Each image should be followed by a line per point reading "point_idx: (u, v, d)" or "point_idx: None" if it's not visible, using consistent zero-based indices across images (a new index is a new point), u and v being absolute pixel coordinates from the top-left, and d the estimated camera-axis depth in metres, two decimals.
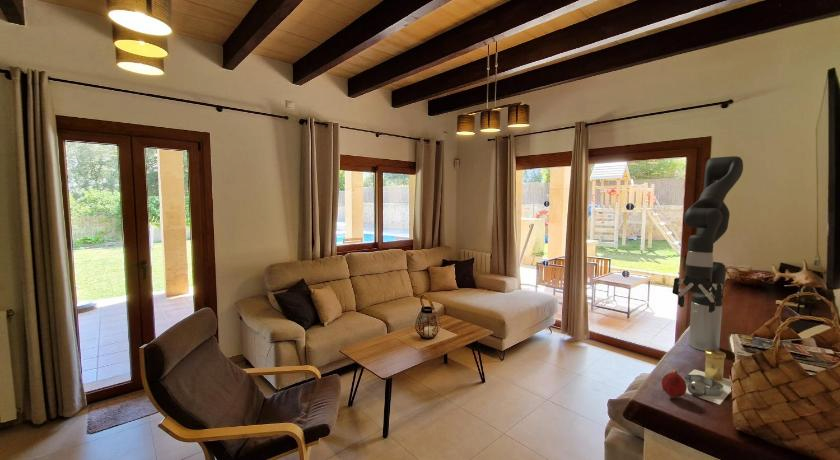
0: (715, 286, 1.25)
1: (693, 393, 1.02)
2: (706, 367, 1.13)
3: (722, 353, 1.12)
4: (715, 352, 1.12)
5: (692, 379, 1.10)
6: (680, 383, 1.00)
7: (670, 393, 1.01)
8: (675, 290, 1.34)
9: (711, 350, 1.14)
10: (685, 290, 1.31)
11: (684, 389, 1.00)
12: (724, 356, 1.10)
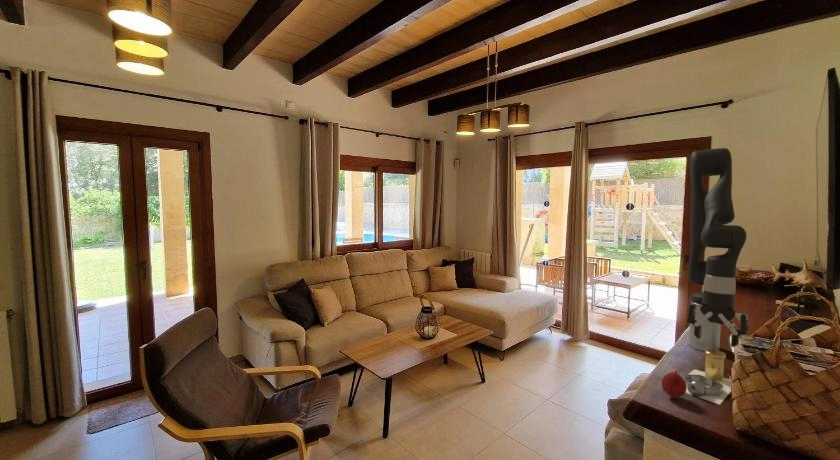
0: (738, 316, 1.07)
1: (693, 393, 1.02)
2: (706, 367, 1.13)
3: (722, 353, 1.12)
4: (715, 352, 1.12)
5: (692, 379, 1.10)
6: (680, 383, 1.00)
7: (670, 393, 1.01)
8: (691, 319, 1.16)
9: (711, 350, 1.14)
10: (703, 319, 1.13)
11: (684, 389, 1.00)
12: (724, 356, 1.10)
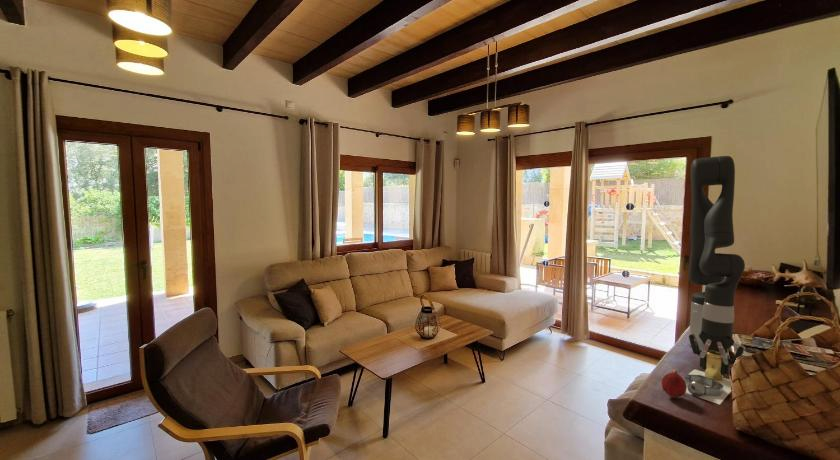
0: (736, 347, 1.08)
1: (693, 393, 1.02)
2: (706, 367, 1.13)
3: None
4: (715, 352, 1.12)
5: (692, 379, 1.10)
6: (680, 383, 1.00)
7: (670, 393, 1.01)
8: (695, 349, 1.16)
9: (711, 350, 1.14)
10: (705, 349, 1.13)
11: (684, 389, 1.00)
12: None
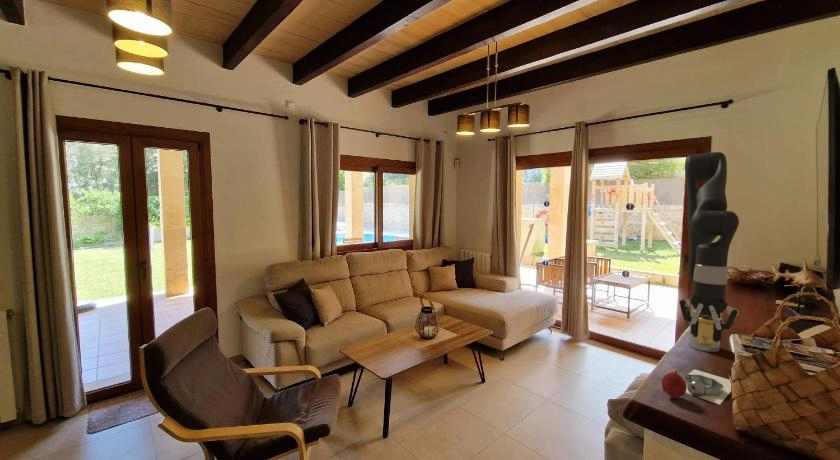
0: (729, 310, 1.01)
1: (693, 393, 1.02)
2: (698, 334, 1.06)
3: None
4: (707, 317, 1.05)
5: (692, 379, 1.10)
6: (680, 383, 1.00)
7: (670, 393, 1.01)
8: (686, 315, 1.08)
9: (703, 316, 1.06)
10: (697, 314, 1.05)
11: (684, 389, 1.00)
12: None
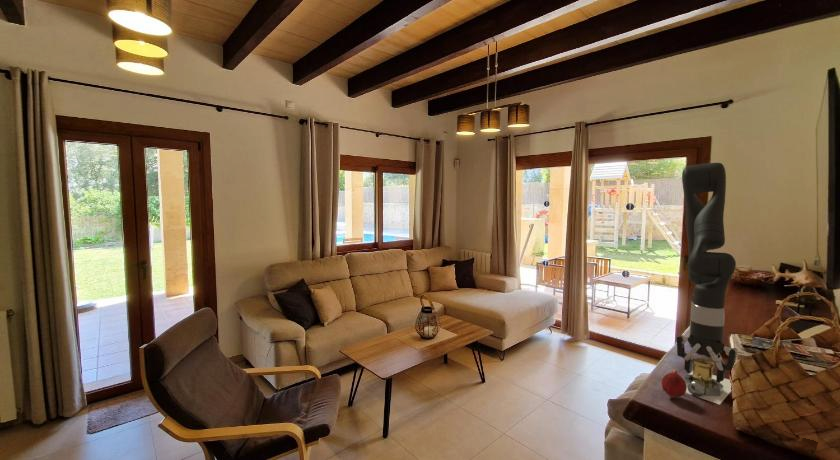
0: (727, 351, 1.01)
1: (693, 393, 1.02)
2: (694, 377, 1.07)
3: (710, 362, 1.05)
4: (703, 361, 1.06)
5: (692, 379, 1.10)
6: (680, 383, 1.00)
7: (670, 393, 1.01)
8: (680, 352, 1.09)
9: (699, 359, 1.07)
10: (692, 353, 1.07)
11: (684, 389, 1.00)
12: (712, 365, 1.04)
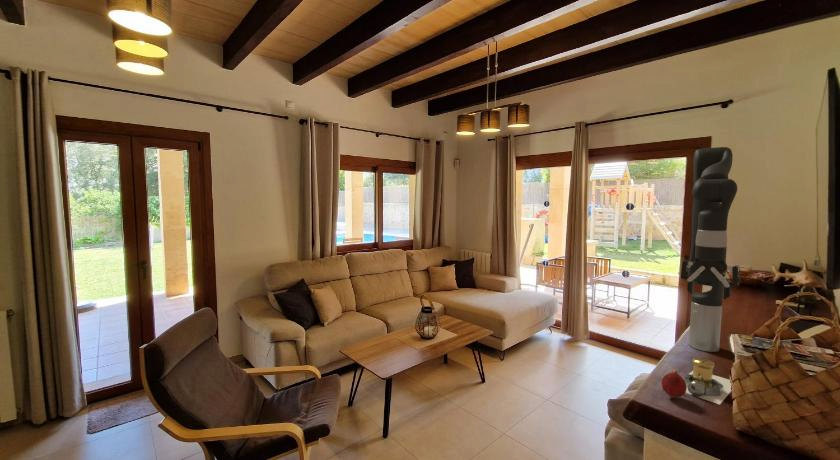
0: (730, 269, 1.09)
1: (693, 393, 1.02)
2: (694, 377, 1.07)
3: (710, 362, 1.05)
4: (703, 361, 1.06)
5: (692, 379, 1.10)
6: (680, 383, 1.00)
7: (670, 393, 1.01)
8: (684, 275, 1.17)
9: (699, 359, 1.07)
10: (695, 274, 1.15)
11: (684, 389, 1.00)
12: (712, 365, 1.04)
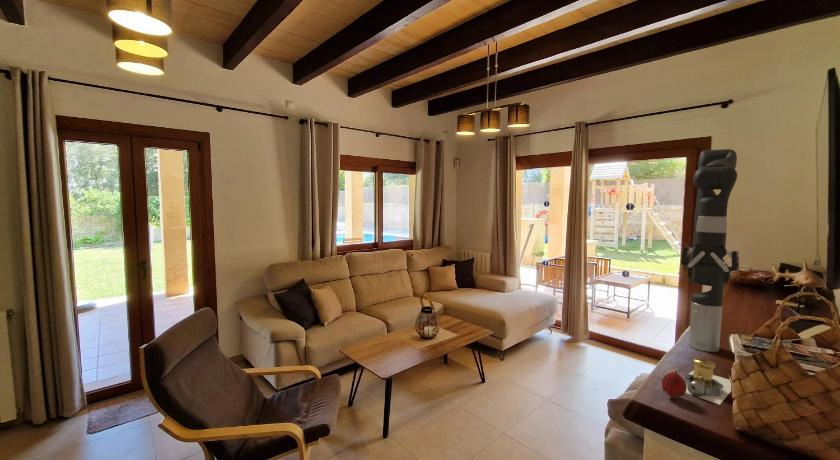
0: (730, 254, 1.12)
1: (693, 393, 1.02)
2: (694, 377, 1.07)
3: (711, 362, 1.05)
4: (704, 361, 1.06)
5: (692, 379, 1.10)
6: (680, 383, 1.00)
7: (670, 393, 1.01)
8: (684, 261, 1.20)
9: (700, 359, 1.07)
10: (696, 260, 1.17)
11: (684, 389, 1.00)
12: (713, 365, 1.04)
